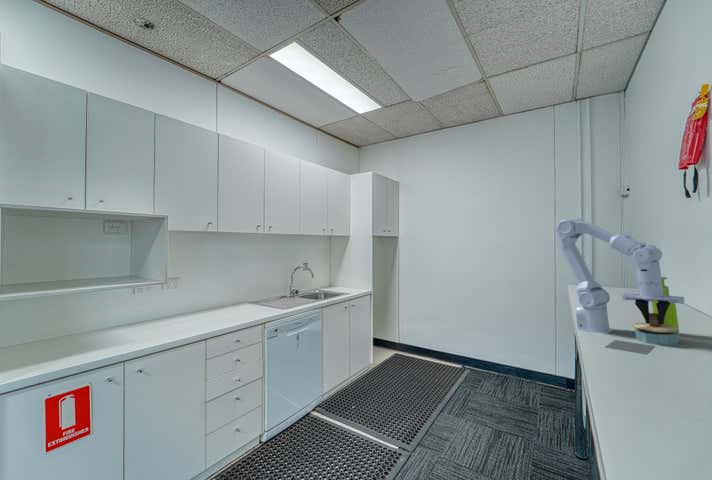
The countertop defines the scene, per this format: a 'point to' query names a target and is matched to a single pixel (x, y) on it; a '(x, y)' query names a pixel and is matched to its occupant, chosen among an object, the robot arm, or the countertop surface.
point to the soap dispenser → (671, 311)
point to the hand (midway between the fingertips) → (654, 323)
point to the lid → (655, 325)
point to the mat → (630, 347)
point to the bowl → (657, 337)
